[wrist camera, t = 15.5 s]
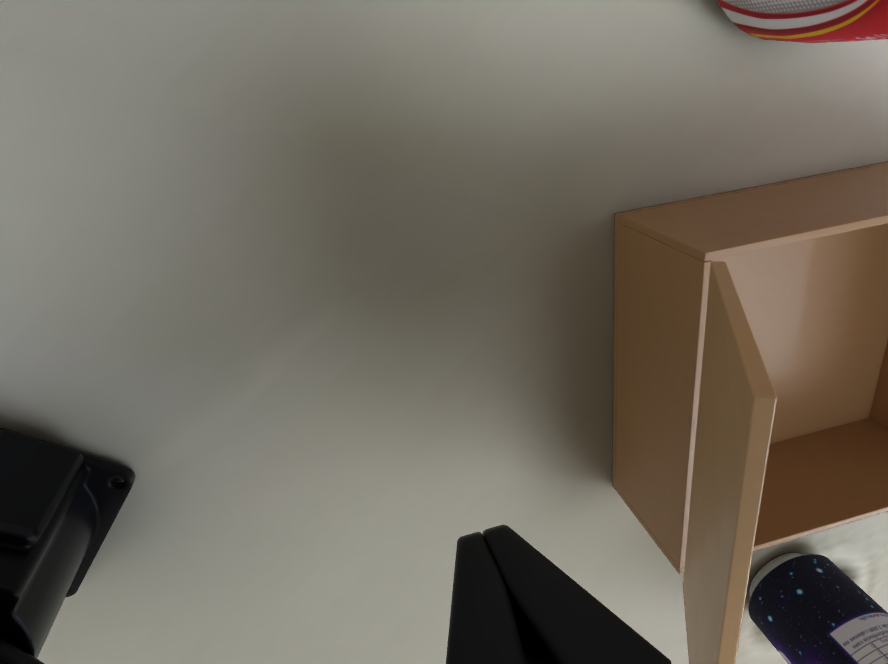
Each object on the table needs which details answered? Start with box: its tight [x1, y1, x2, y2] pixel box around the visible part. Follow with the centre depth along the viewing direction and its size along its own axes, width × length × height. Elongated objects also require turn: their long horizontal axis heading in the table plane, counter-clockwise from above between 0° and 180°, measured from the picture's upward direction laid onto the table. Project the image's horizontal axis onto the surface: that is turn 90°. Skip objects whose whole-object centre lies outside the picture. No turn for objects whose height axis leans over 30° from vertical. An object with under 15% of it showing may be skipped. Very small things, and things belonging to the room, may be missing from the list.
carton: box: [613, 162, 888, 574], centre depth 23 cm, size 15×14×6 cm
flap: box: [683, 261, 777, 664], centre depth 16 cm, size 7×14×1 cm
